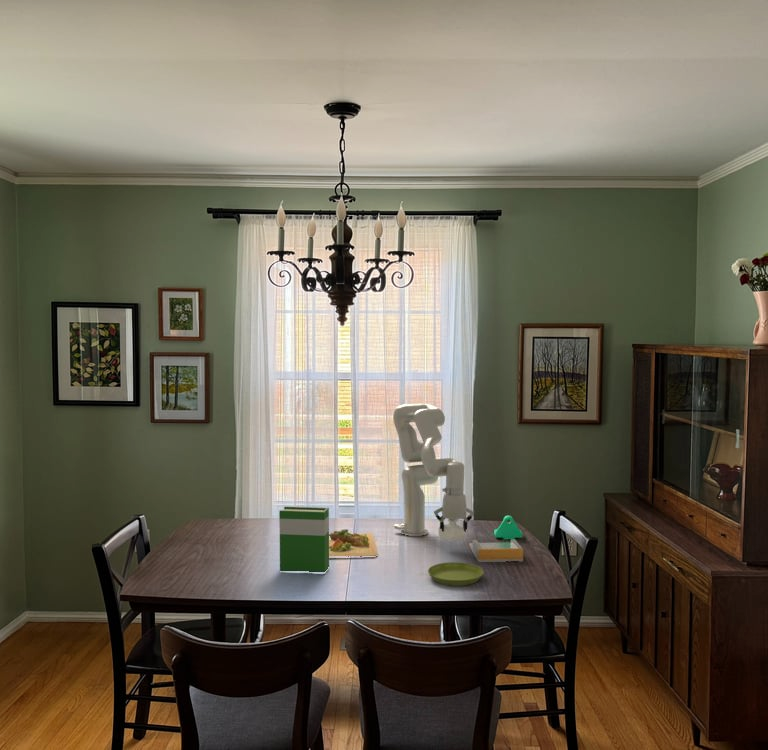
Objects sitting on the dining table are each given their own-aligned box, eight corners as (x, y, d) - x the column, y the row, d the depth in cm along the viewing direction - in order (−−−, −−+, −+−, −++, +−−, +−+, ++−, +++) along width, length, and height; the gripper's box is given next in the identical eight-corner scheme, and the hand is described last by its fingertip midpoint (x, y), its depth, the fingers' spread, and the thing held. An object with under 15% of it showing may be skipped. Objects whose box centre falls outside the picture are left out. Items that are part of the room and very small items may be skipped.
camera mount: (520, 535, 318) (520, 513, 317) (522, 540, 310) (522, 517, 310) (494, 535, 318) (494, 512, 318) (495, 539, 311) (495, 516, 310)
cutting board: (378, 559, 284) (377, 541, 283) (320, 561, 282) (320, 542, 282) (373, 536, 319) (373, 520, 318) (322, 537, 317) (322, 521, 317)
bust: (465, 544, 296) (466, 519, 302) (466, 538, 289) (467, 513, 295) (437, 542, 296) (438, 517, 302) (437, 536, 290) (439, 511, 296)
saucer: (448, 566, 272) (448, 558, 272) (494, 577, 259) (494, 569, 259) (416, 580, 256) (416, 571, 256) (463, 592, 243) (463, 583, 243)
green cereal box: (279, 572, 265) (279, 510, 264) (285, 566, 273) (284, 506, 272) (324, 574, 263) (324, 512, 262) (329, 568, 270) (328, 507, 269)
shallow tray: (478, 562, 277) (478, 549, 277) (468, 545, 301) (468, 533, 301) (523, 561, 278) (523, 549, 278) (509, 544, 302) (509, 533, 302)
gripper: (435, 493, 289) (434, 533, 291) (476, 493, 290) (475, 533, 291) (433, 488, 297) (432, 528, 298) (473, 489, 298) (472, 528, 299)
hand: (453, 530), depth 295 cm, fingers closed on bust, 9 cm apart
